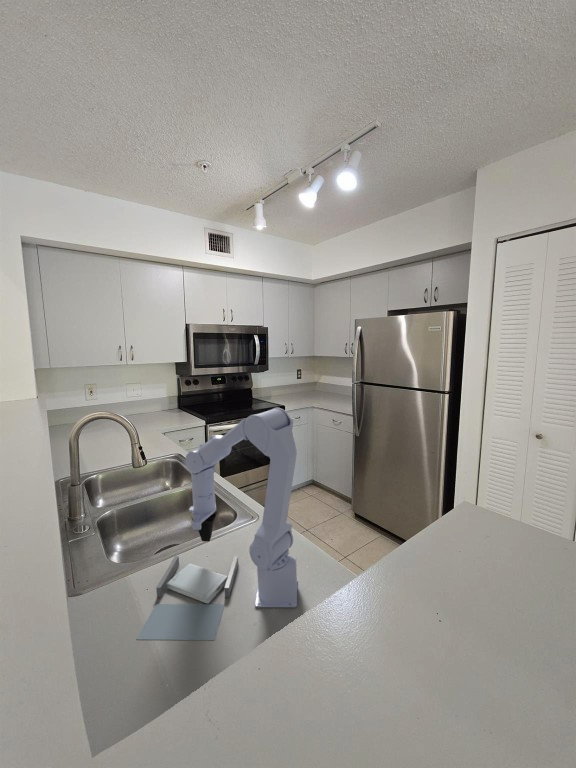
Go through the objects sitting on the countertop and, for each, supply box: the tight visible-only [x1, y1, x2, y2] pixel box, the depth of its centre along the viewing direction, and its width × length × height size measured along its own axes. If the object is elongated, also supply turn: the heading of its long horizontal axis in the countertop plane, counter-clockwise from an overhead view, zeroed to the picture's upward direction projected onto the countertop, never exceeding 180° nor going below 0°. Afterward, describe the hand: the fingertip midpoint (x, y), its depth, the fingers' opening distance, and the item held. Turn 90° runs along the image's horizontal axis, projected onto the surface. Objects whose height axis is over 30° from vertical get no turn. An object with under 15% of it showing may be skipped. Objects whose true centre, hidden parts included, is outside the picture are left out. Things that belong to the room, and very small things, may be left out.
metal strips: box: [155, 555, 239, 599], centre depth 82 cm, size 17×12×2 cm
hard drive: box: [166, 563, 228, 604], centre depth 80 cm, size 2×8×12 cm
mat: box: [136, 603, 225, 641], centre depth 70 cm, size 16×9×1 cm, turn 88°
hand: (206, 539), depth 88 cm, fingers closed
